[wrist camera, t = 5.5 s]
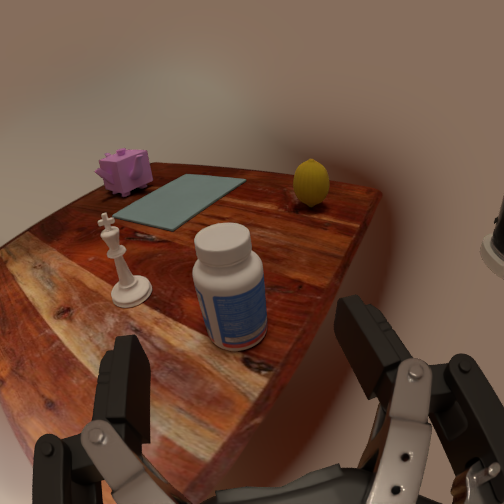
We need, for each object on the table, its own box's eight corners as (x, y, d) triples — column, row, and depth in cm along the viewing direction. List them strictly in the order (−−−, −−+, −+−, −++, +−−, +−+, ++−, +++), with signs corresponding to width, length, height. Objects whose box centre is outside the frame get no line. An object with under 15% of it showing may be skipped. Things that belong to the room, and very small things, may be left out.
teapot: (88, 196, 62) (78, 159, 57) (131, 177, 71) (124, 141, 65) (121, 209, 53) (109, 161, 47) (172, 184, 61) (164, 141, 56)
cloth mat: (246, 181, 58) (246, 179, 58) (173, 231, 43) (172, 229, 43) (186, 175, 65) (186, 174, 65) (112, 217, 50) (112, 215, 50)
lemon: (315, 218, 43) (316, 166, 39) (286, 208, 46) (285, 159, 42) (334, 206, 46) (336, 158, 42) (306, 197, 49) (306, 152, 45)
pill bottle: (278, 320, 27) (275, 225, 21) (247, 362, 23) (234, 265, 18) (229, 302, 29) (215, 213, 24) (195, 338, 25) (169, 245, 20)
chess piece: (117, 282, 33) (90, 208, 28) (154, 277, 34) (131, 199, 28) (108, 310, 29) (74, 230, 24) (149, 305, 29) (120, 220, 24)
